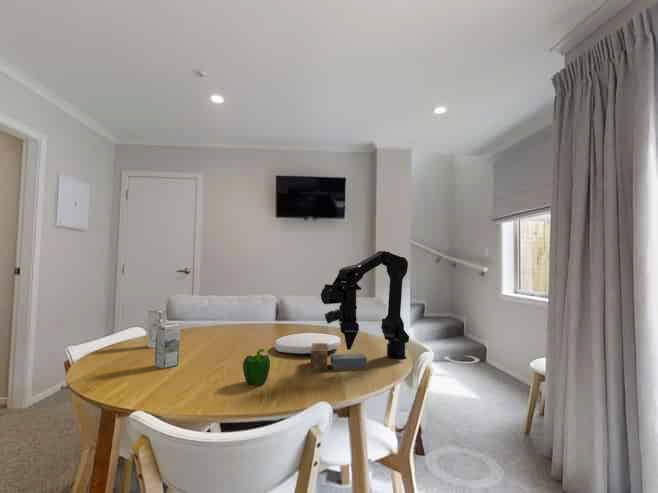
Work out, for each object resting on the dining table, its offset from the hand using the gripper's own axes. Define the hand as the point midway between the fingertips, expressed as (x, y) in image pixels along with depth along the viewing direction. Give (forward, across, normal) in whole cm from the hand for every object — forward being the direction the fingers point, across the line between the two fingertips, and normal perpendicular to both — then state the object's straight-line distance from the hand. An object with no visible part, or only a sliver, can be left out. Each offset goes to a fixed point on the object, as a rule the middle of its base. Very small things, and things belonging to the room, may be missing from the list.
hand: (347, 346), depth 125 cm
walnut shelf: (+7, 0, -10) cm, 12 cm away
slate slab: (+8, 0, 0) cm, 8 cm away
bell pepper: (+7, +18, -29) cm, 35 cm away
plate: (+8, -24, -16) cm, 30 cm away
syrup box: (+7, +2, -64) cm, 64 cm away
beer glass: (+7, -26, -82) cm, 86 cm away
